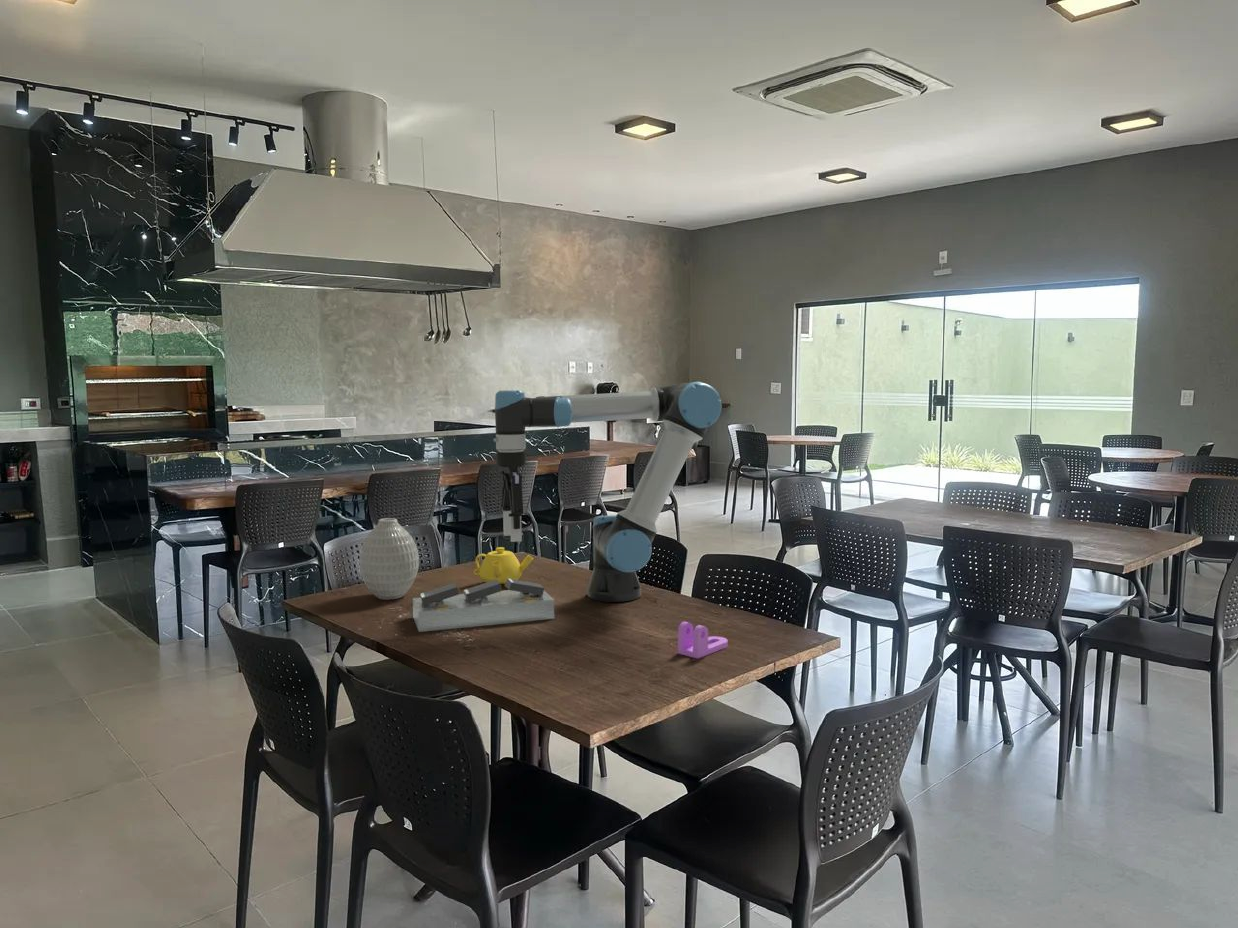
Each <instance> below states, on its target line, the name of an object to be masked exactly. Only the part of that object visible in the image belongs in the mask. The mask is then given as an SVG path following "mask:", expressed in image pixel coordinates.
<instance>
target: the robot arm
mask: <svg viewBox="0 0 1238 928" xmlns="http://www.w3.org/2000/svg"><path fill="white" fill-rule="evenodd" d="M525 394H526V393H525V391H524V390H522V389H521V390H519V389H518V390H513V389H512V390H498V391H497V392H496V393H495V396H494V397H495V399H494V400H495V401H494V415H495V416H494V418H495V421H494V423H495V438H493V442H494V443H495V449H496V450H497V452H496V453H495V459H496V460H495V461H496V463H495V464H496V466H497V467H499V468H504V470H501V472H500V475H501V495H500V496H501V497H500V499H501V503H500V506H501V509H502V513H503V514H502V517H503V519H502V520H503V523H502V524H503V525H502V526H503V528H502V529H503V536H504V537H509V536H510V542H511V543H513V542H514V543H516V542H517V543H518V542H522V541H523V540H522V539H523V536H522V531H523V530H522V529H523V528H522V525H523V524H522V516H523V515H524V513H525V512H524V500H523V486H522V484H523V483H522V479H523V476H522V474H521V473H519V467H520V468H521V467H524V466H526V464H527V459H526V457H527V456H526V455H527V453H526V452H525V450H526V448H527V447H526V446H527V445H526V444H527V443H526V441H527V440H526V428H534V427H535V428H544V427H545V428H550V427H551V428H553V427H554V428H555V427H556V428H560V427H569V426H570V425H571V423H574V424H575V423H588V422H589V423H591V422H605V421H608V422H609V421H627V420H643V419H651V421H653V422H655V423H656V422H657V423H658V422H663V425H664V431H663V433H662V435H661V436H660V439H659V441H658V443H657V445H656V447H655V449H654V450H653V453H652V455H651V457H650V459H649V460H648V463H647V465H646V468H645V469H644V471H643V473H642V476H641V478H640V480H639V481H638V484H637V485H636V488H635V490H634V492H633V494H632V496H631V498H630V500H629V503H628V504H627V506H626V508H625V509H623V510H621V511H618V512H617V514H614V515H609V514H608V515H598V516H595V517H594V519H593V525H592V532H593V533H592V535H593V537H592V540H593V549H592V550H593V570H592V573H591V576H590V580H589V583H588V587H587V597H588V598H589V599H590V600H594V601H599V602H606V603H609V602H610V603H611V602H612V603H619V602H629V601H633V600H637V599H639V598H640V597H642V587H641V583H640V581H639V577H638V575H637V571H640V570H641V569H643V568H644V567H645V566H646V565H647V563H648V562H649V560H650V559H651V556H652V549H653V548H652V543H653V541H654V539H655V538H656V537H655V536H656V535H657V533H658V528H657V527H656V522H657V520H658V518H659V516H660V514H661V511H662V510H663V508H664V505H665V503H666V502H667V499H668V498H669V495H670V493H671V491H672V489H673V487H674V486H675V483H676V481H677V479H678V477H679V475H680V473H681V470H682V468H683V466H684V465H685V463H686V460H687V459H688V456H689V455H690V452H691V450H692V448H693V446H694V444H695V443H697V442H699V441H702V440H703V438H704V437H705V434H706V433H707V430H708V429H709V427H711V426H712V425H713V424H714V423H716V422H717V421H718V419H719V418H720V415H721V413H722V409H723V407H722V400H721V397H720V394H719V392H718V391H717V390H716V389H715V388H714V387H713V386H711V385H710V384H707V383H704V382H702V381H693V382H679V383H675V384H671V385H664V386H658V387H657V386H654V387H651V388H650V389H649V390H648V391H630V392H629V391H627V392H609V393H589V394H571V395H552V396H551V395H550V396H546V395H545V396H541V395H540V396H536V397H526V395H525Z"/></svg>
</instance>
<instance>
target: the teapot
mask: <svg viewBox="0 0 1238 928" xmlns="http://www.w3.org/2000/svg"><path fill="white" fill-rule="evenodd" d="M481 557H484V558H483V560H482V562H481V565H480V564H479V558H481ZM533 560H534V558H533V557H532V556H531V555H529V554H527V555H526V557H525V558H524V559H523V560H522V562H521V563H520V561H519V559H518V558H517V556H516V555H515V553H514V552H512V551H510V550H505V547H503V546H501V547H500V546H499V547H496V548H495V550H493V551H490V552H487V554H485V553H480V554H477V556H476V557H475V565H476V568H475V569H474V570H473V575H474V576H477V577H480V579H481V580H482V581H483V582H484V583H487V582H490V581H493V580H496V579H497V580H498V581H499V582H500V584H501V585H502V584H503V585H504V587H505V588H507V587H506V586H505V585H506V581H507V578H508V579H514V580H519V579H520V577H521V576H522V574H523V572H524V571H525V569H526V568H527V567H528V566H529V565H530V563H531V562H533Z"/></svg>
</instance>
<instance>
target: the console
mask: <svg viewBox="0 0 1238 928" xmlns="http://www.w3.org/2000/svg"><path fill="white" fill-rule="evenodd" d="M412 618H413V620H414V623H415V626H416V628H417V631H418V633H422V632H423V633H424V632H431V631H432V632H433V631H443V630H453V629H462V628H472V627H473V628H475V627H482V626H493V625H495V626H496V625H503V624H505V625H506V624H514V623H524V622H533V621H534V622H535V621H544V620H545V621H546V620H554V619H555V599H554V598H553V597H552V596H551V595H550V594H549V593H548V592H546V591H545V590H544V592H543V596H542V595H536V594H530V593H524V592H518V591H511V590H509V589H506V590H505V589H504V590H503V589H502V591H500V592H497V593H494V594H491V595H488V596H485V597H482V598H479V599H476V600H473V601H470V602H468V601H467V599H466V598H465V595H464V593H459V595H456V596H453V597H450V598H447V599H444V600H441V601H438V602H435V603H432V604H429V605H426V606H424V605H423V603H422V600H421V597H413V598H412Z"/></svg>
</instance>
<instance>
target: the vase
mask: <svg viewBox="0 0 1238 928" xmlns="http://www.w3.org/2000/svg"><path fill="white" fill-rule="evenodd" d="M419 558H420V557H419V550H418V547H417V545H416V542H415V540H414V538H413V537H412V535H411V534H410V533H409V531H407V530H406V529H405V528H404V527H403V526H402V525H401V524H400V523H399V521H398V518H395V517H386V518H380V519H379V520H378V523H377V524H376V525H375V526H374V527H373V529H372V530H371V531H370V532H369V534H368V535H367V536H366V537H365V539H364V540H363V542H362V544H361V548H360V552H359V570H360V576H361V578H362V580H363V582H364V584H365V585H366V587H367V588H368V589H369V591H370V592H371V593H372V594H373V595H374V596H375V597H376V598H377V599H379V600H385V601H388V600H390V601H391V599H392V600H397V599H400V598H403V596H405V594H406V593H407V592H408V591H409V590H410V588H411V587H412V586H413V584H414V581H415V580H416V578H417V574H418V572H419V565H420V561H419V560H420V559H419Z"/></svg>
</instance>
